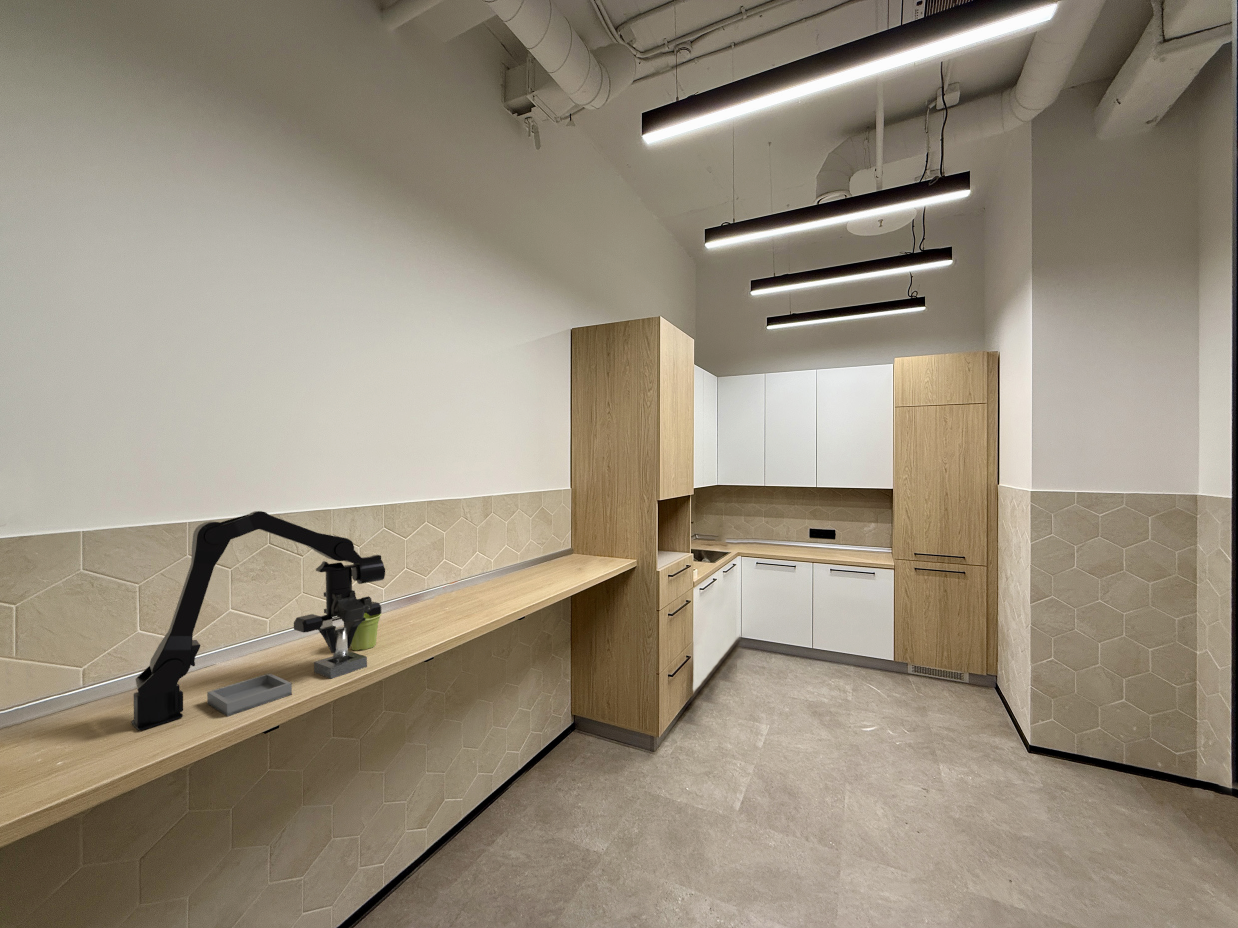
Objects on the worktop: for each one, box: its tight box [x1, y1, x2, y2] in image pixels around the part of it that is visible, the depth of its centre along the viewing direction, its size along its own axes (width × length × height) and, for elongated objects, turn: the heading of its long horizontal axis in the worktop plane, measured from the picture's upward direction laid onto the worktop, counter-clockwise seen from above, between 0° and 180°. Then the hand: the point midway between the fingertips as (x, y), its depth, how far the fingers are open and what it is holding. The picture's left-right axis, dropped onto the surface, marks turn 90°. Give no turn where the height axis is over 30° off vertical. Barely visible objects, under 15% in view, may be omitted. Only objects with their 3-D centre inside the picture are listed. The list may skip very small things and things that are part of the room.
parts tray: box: [206, 672, 293, 717], centre depth 107 cm, size 12×12×2 cm
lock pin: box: [332, 626, 349, 664], centre depth 123 cm, size 3×3×9 cm
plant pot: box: [350, 613, 382, 651], centre depth 139 cm, size 9×9×9 cm
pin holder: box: [313, 650, 368, 679], centre depth 122 cm, size 9×9×2 cm
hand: (340, 650), depth 123 cm, fingers closed on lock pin, 3 cm apart
